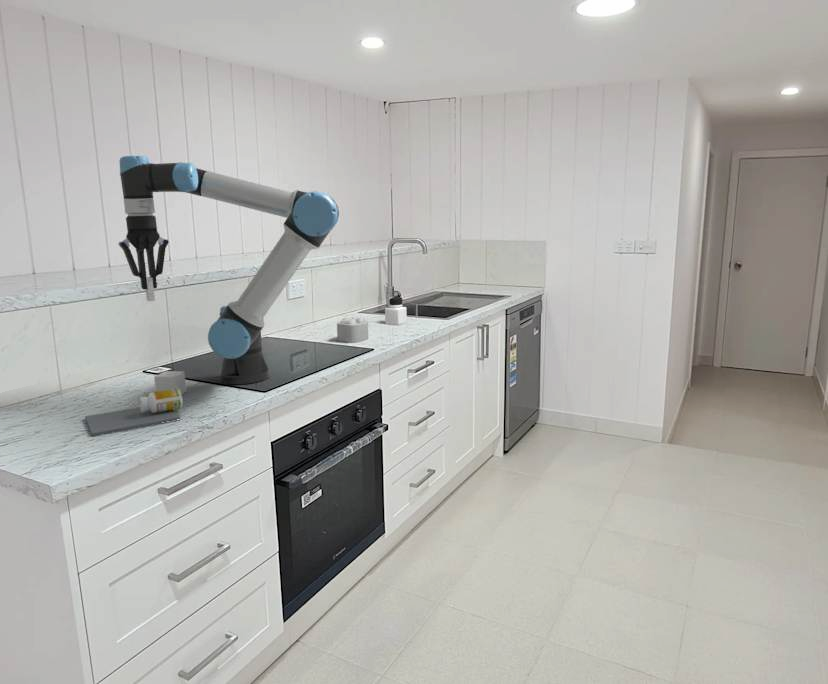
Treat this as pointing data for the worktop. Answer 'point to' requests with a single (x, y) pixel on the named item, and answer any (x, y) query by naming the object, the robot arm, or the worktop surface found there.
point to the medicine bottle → (395, 312)
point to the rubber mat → (126, 420)
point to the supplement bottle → (161, 401)
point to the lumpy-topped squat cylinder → (352, 330)
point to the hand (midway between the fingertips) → (150, 300)
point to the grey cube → (170, 381)
